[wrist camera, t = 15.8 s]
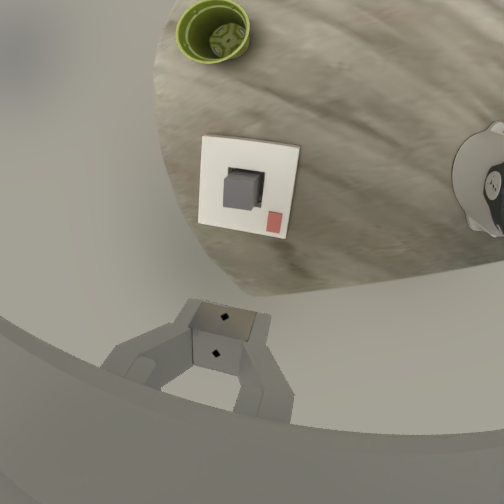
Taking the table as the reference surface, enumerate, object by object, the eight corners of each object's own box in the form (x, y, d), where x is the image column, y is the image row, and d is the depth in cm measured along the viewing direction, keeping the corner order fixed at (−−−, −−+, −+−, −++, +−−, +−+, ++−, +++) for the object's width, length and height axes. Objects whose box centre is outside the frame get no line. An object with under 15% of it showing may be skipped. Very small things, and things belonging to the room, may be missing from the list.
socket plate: (300, 145, 43) (299, 148, 40) (286, 232, 49) (284, 240, 47) (208, 134, 45) (200, 136, 42) (203, 217, 51) (196, 224, 49)
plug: (262, 170, 46) (253, 182, 40) (260, 195, 48) (251, 210, 42) (237, 167, 46) (223, 178, 40) (235, 192, 48) (222, 206, 42)
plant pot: (235, 3, 34) (217, -16, 26) (275, 44, 36) (265, 31, 29) (188, 40, 38) (162, 31, 30) (225, 81, 40) (204, 78, 33)
